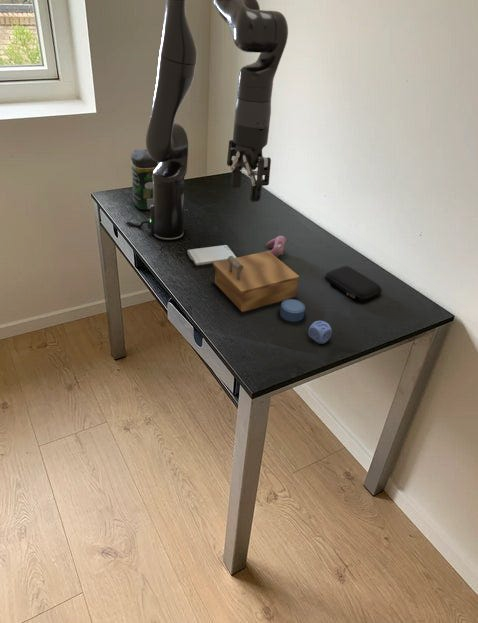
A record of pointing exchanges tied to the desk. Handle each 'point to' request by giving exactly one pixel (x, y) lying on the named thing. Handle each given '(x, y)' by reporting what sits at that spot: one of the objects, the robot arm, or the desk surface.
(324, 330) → the decorative dice
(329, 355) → the desk surface
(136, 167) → the coffee jar
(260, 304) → the chest
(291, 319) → the blue lid
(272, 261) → the cover
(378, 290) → the carrying case
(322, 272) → the desk surface
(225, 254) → the hard drive
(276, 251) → the video game controller
